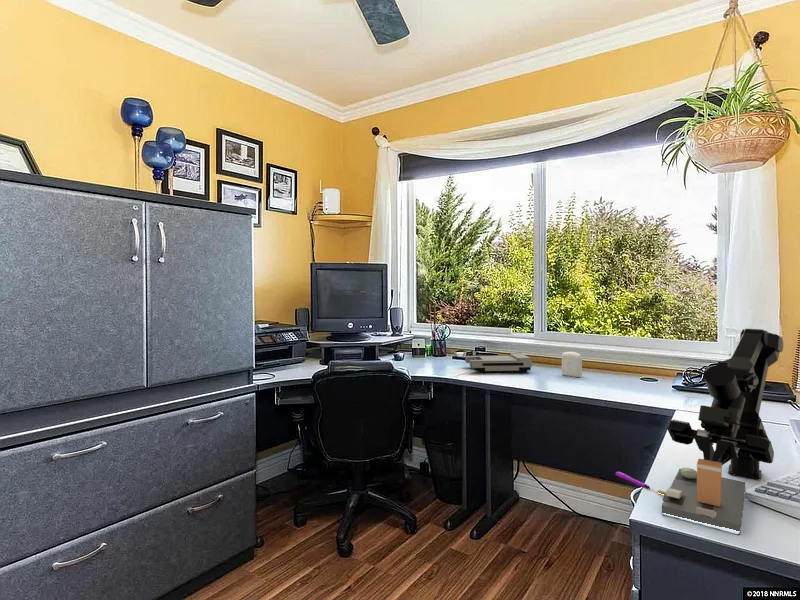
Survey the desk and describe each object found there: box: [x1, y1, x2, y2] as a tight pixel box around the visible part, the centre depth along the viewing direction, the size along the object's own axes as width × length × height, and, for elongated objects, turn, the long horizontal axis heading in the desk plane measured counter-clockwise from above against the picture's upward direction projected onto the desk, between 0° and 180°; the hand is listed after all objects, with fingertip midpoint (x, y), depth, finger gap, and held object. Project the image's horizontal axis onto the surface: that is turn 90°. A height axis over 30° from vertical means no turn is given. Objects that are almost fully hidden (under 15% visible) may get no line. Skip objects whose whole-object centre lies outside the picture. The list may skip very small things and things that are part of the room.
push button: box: [680, 467, 697, 479], centre depth 109 cm, size 3×3×1 cm
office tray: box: [464, 352, 533, 374], centre depth 258 cm, size 21×32×8 cm, turn 91°
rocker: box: [665, 487, 682, 498], centre depth 99 cm, size 4×2×1 cm, turn 142°
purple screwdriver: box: [615, 471, 666, 495], centre depth 109 cm, size 3×1×16 cm
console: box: [661, 468, 746, 532], centre depth 102 cm, size 24×13×3 cm, turn 142°
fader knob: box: [696, 458, 723, 507], centre depth 97 cm, size 3×4×8 cm
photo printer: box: [561, 351, 583, 378], centre depth 241 cm, size 10×4×12 cm, turn 39°
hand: (708, 474), depth 98 cm, fingers closed
